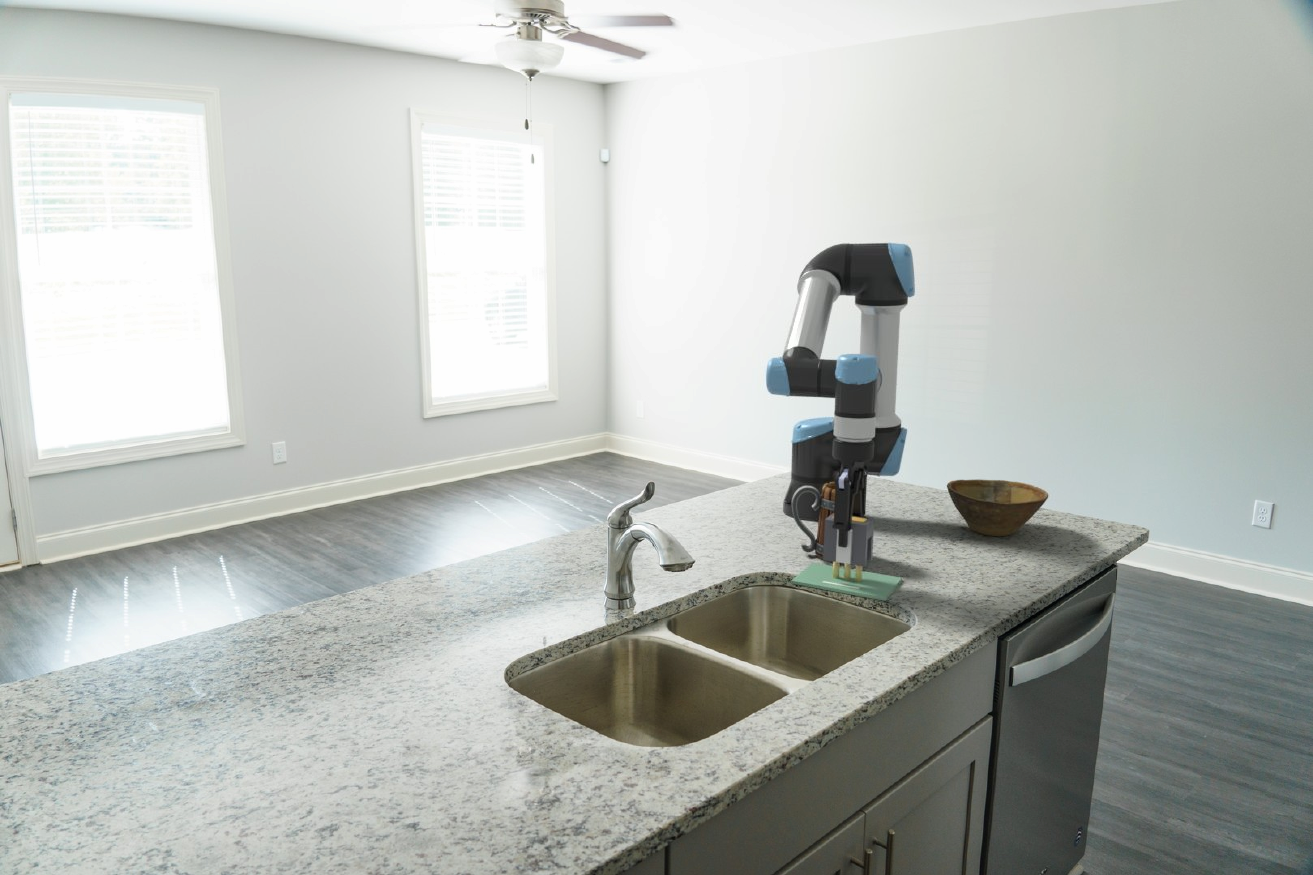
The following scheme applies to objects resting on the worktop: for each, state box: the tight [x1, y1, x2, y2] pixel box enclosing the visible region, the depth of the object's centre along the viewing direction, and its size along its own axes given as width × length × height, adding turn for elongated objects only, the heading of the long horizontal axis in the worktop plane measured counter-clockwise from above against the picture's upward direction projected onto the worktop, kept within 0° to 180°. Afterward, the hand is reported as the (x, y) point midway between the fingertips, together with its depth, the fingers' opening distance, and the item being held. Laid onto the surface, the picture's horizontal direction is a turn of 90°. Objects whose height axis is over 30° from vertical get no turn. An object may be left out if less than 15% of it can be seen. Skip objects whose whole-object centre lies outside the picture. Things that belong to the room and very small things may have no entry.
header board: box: [790, 562, 903, 602], centre depth 169 cm, size 12×18×5 cm, turn 61°
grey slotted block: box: [822, 513, 875, 568], centre depth 168 cm, size 5×8×8 cm, turn 61°
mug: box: [792, 482, 865, 563], centre depth 184 cm, size 16×11×15 cm
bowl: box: [946, 479, 1049, 537], centre depth 202 cm, size 22×23×10 cm
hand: (848, 557), depth 168 cm, fingers closed on grey slotted block, 5 cm apart
